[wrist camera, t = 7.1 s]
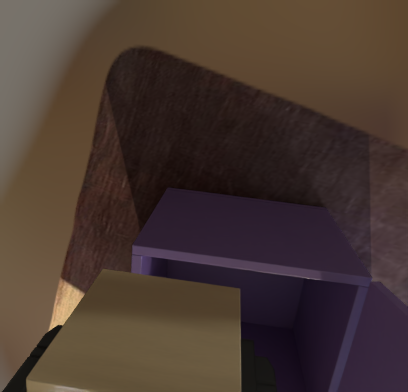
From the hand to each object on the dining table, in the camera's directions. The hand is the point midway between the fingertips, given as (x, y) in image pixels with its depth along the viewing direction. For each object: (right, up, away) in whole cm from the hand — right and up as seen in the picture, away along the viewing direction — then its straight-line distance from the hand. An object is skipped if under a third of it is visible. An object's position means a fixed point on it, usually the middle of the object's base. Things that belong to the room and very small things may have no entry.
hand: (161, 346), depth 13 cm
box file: (+5, -2, +29) cm, 30 cm away
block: (0, 0, +1) cm, 1 cm away
